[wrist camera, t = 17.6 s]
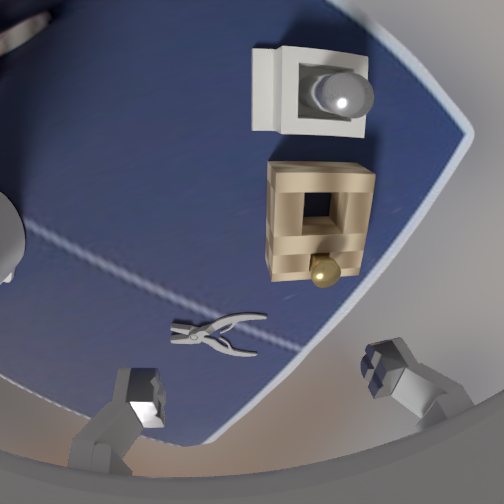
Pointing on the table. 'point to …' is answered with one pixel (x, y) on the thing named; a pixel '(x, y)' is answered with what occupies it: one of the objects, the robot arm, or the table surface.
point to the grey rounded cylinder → (337, 94)
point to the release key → (324, 270)
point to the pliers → (197, 333)
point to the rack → (286, 91)
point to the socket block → (316, 228)
